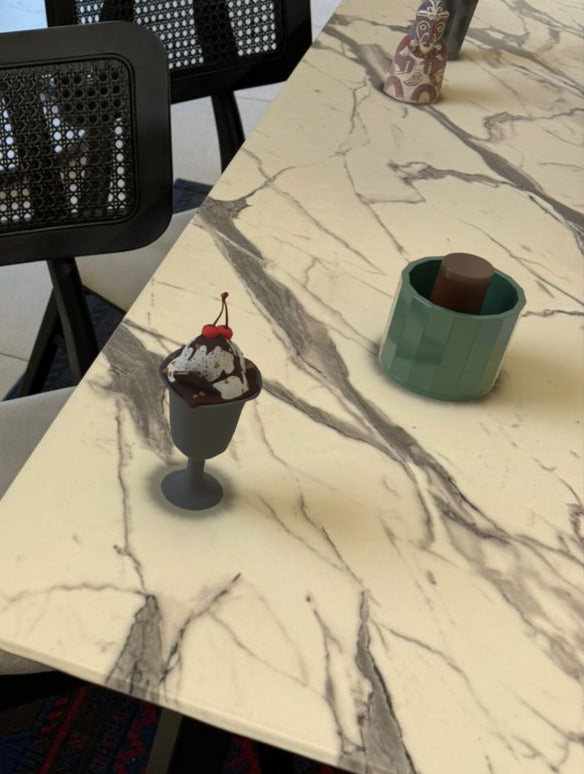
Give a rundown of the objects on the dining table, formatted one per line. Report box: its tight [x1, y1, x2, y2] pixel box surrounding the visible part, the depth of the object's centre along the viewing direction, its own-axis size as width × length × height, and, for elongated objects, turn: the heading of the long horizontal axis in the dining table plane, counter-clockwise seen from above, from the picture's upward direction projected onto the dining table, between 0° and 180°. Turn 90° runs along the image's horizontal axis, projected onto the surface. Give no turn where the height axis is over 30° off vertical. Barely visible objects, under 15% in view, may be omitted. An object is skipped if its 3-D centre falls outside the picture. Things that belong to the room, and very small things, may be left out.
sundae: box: [158, 291, 263, 512], centre depth 67 cm, size 7×7×15 cm
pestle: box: [429, 252, 495, 316], centre depth 82 cm, size 4×4×9 cm
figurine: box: [383, 0, 449, 104], centre depth 130 cm, size 7×7×12 cm
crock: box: [377, 255, 528, 402], centre depth 83 cm, size 10×10×8 cm
